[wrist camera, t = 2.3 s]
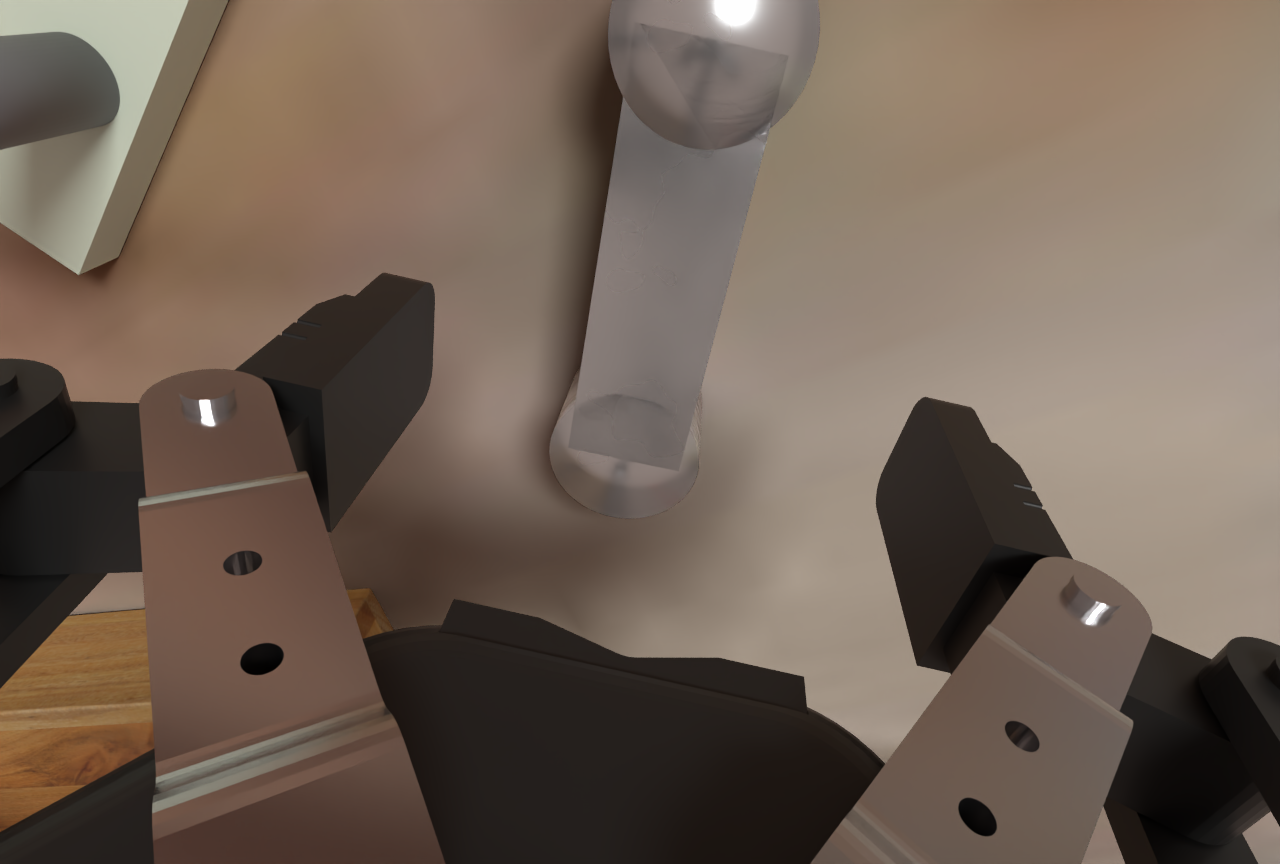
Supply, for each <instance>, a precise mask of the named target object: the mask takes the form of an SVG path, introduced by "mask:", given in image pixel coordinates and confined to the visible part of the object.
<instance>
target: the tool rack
mask: <svg viewBox="0 0 1280 864" xmlns="http://www.w3.org/2000/svg"><path fill="white" fill-rule="evenodd" d="M227 3H228V0H0V223H2V224H3V225H5V226H6V227H8V228H9V229H11V230H12V231H13V232H15V233H16V234H18V235H19V236H21V237H22V238H24V239H25V240H27V241H28V242H30V243H31V244H33V245H34V246H36V247H37V248H39V249H40V250H42V251H43V252H45V253H46V254H48V255H49V256H51V257H52V258H54V259H55V260H57V261H58V262H60V263H61V264H63V265H64V266H66V267H67V268H69V269H70V270H72V271H73V272H75V273H76V274H78V275H80V274H82V273H85V272H87V271H89V270H91V269H93V268H95V267H98V266H100V265H102V264H104V263H106V262H109V261H111V260H113V259H115V258H117V257H119V254H120V252H121V250H122V247H123V245H124V243H125V240H126V238H127V236H128V233H129V231H130V229H131V226H132V224H133V222H134V219H135V217H136V215H137V212H138V210H139V208H140V206H141V203H142V201H143V199H144V196H145V194H146V192H147V189H148V187H149V185H150V182H151V180H152V178H153V175H154V173H155V171H156V168H157V166H158V164H159V161H160V159H161V157H162V154H163V152H164V150H165V147H166V145H167V143H168V140H169V138H170V136H171V133H172V131H173V129H174V126H175V124H176V122H177V119H178V117H179V115H180V112H181V110H182V108H183V105H184V103H185V101H186V98H187V96H188V94H189V91H190V89H191V87H192V84H193V82H194V80H195V77H196V75H197V73H198V70H199V68H200V66H201V63H202V61H203V59H204V56H205V54H206V52H207V49H208V47H209V45H210V42H211V40H212V38H213V35H214V33H215V31H216V28H217V26H218V24H219V21H220V19H221V17H222V14H223V12H224V10H225V7H226V5H227Z"/></svg>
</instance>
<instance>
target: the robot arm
mask: <svg viewBox="0 0 1280 864" xmlns="http://www.w3.org/2000/svg"><path fill="white" fill-rule="evenodd" d="M434 310H435V294H434V289H433V286H432V284H431V283H428V282H423V281H419V280H415V279H410V278H406V277H402V276H397V275H393V274H388V273H382V274H380V275H379V276H378V277H377V278H376V279H375V280H373V281H372V282H371V283H370V284H369V285H368V286H366V287H365V288H364V289H363V290H362V291H361V292H360V293H358V294H357V295H356V296H355V297H354V296H350V295H346V294H345V295H342V296H339V297H336V298H333V299H331V300H328V301H325V302H322V303H319V304H316V305H315V306H314V307H312V308H311V309H310V310H309V311H307V312H306V313H305V314H304V315H303V316H301V317H300V318H299V319H298V321H297V323H295V322H294V323H293V324H291V325H290V326H289V327H288V328H286V329H285V330H284V331H283V332H282V336H281V335H278V336H276V337H275V338H274V339H273V340H272V341H270V342H269V343H268V344H267V345H265V346H264V347H263V348H262V349H260V350H259V351H258V352H257V353H255V354H254V355H253V356H252V357H250V358H249V359H248V360H247V361H245V362H244V363H243V364H242V365H241V366H239V367H238V368H237V369H236V370H226V369H206V370H197V371H190V372H185V373H181V374H178V375H174V376H171V377H169V378H166V379H164V380H161V381H160V382H158V383H156V384H154V385H153V386H152V387H150V388H149V389H148V390H147V391H146V392H145V393H144V394H143V395H142V397H141V399H140V402H139V403H107V402H73V401H70V397H69V394H68V391H67V387H66V384H65V380H64V378H63V376H62V374H61V373H60V372H59V371H58V370H56V369H55V368H53V367H51V366H49V365H46V364H44V363H40V362H36V361H31V360H24V359H0V688H1V687H2V686H3V685H4V684H5V683H6V682H7V681H8V680H9V679H10V678H11V677H12V676H13V675H14V673H15V672H16V671H17V670H18V669H19V668H20V667H21V666H22V665H23V664H24V663H25V662H26V661H27V660H28V658H29V657H30V656H31V655H32V654H33V653H34V652H35V651H36V650H37V649H38V648H39V647H40V646H41V644H42V643H43V642H44V641H45V640H46V639H47V638H48V637H49V636H50V635H51V634H52V633H53V632H54V631H55V629H56V628H57V627H58V626H59V625H60V624H61V623H62V622H63V621H64V620H65V619H66V618H67V617H68V616H69V614H70V613H71V612H72V611H73V610H74V609H75V608H76V607H77V606H78V605H79V604H80V603H81V602H82V600H83V599H84V598H85V597H86V596H87V595H88V594H89V593H90V592H91V591H92V590H93V589H94V588H95V587H96V585H97V584H98V583H99V582H100V581H101V580H102V579H103V578H104V577H105V576H106V575H107V573H121V572H143V585H144V600H145V615H146V630H147V645H148V660H149V675H150V690H151V705H152V720H153V735H154V749H152V750H150V751H148V752H146V753H144V754H143V755H141V756H139V757H137V758H135V759H133V760H132V761H130V762H128V763H126V764H124V765H122V766H120V767H119V768H117V769H115V770H113V771H111V772H109V773H108V774H106V775H104V776H102V777H100V778H98V779H97V780H95V781H93V782H91V783H89V784H87V785H85V786H84V787H82V788H80V789H78V790H76V791H74V792H73V793H71V794H69V795H67V796H65V797H63V798H62V799H60V800H58V801H56V802H54V803H52V804H51V805H49V806H47V807H45V808H43V809H41V810H39V811H38V812H36V813H34V814H32V815H30V816H28V817H27V818H25V819H23V820H21V821H19V822H17V823H16V824H14V825H12V826H10V827H8V828H6V829H5V830H3V831H1V832H0V864H1081V863H1082V860H1083V858H1084V855H1085V852H1086V850H1087V847H1088V844H1089V842H1090V839H1091V837H1092V834H1093V831H1094V829H1095V826H1096V823H1097V821H1098V818H1099V816H1100V813H1101V810H1102V808H1103V806H1104V809H1105V811H1106V814H1107V817H1108V819H1109V822H1110V825H1111V827H1112V830H1113V832H1114V835H1115V838H1116V840H1117V843H1118V846H1119V848H1120V851H1121V853H1122V856H1123V859H1124V861H1125V864H1258V862H1257V861H1256V859H1255V857H1254V855H1253V853H1252V851H1251V849H1250V847H1249V846H1248V844H1247V842H1246V840H1245V838H1244V836H1243V834H1242V833H1243V832H1244V831H1245V830H1247V829H1248V828H1249V827H1251V826H1252V825H1253V824H1255V823H1256V822H1257V821H1258V820H1260V819H1261V818H1262V817H1264V816H1265V815H1266V814H1268V813H1269V812H1270V811H1271V812H1272V814H1273V816H1274V817H1275V819H1276V821H1277V823H1278V824H1279V826H1280V646H1279V645H1277V644H1274V643H1272V642H1268V641H1265V640H1262V639H1258V638H1253V637H1237V638H1234V639H1232V640H1231V641H1230V642H1229V643H1228V644H1227V645H1226V646H1225V647H1224V648H1223V649H1222V650H1221V651H1220V652H1219V653H1218V654H1217V655H1216V656H1215V657H1214V658H1213V659H1209V658H1207V657H1205V656H1202V655H1200V654H1198V653H1196V652H1193V651H1191V650H1189V649H1186V648H1184V647H1182V646H1180V645H1177V644H1175V643H1173V642H1170V641H1168V640H1166V639H1164V638H1161V637H1159V636H1157V635H1155V634H1152V622H1151V619H1150V617H1149V615H1148V613H1147V611H1146V610H1145V608H1144V607H1143V605H1142V604H1141V603H1140V601H1139V600H1138V599H1137V598H1136V597H1135V596H1134V595H1133V594H1132V593H1131V592H1130V591H1129V590H1127V589H1126V588H1125V587H1124V586H1123V585H1121V584H1120V583H1119V582H1117V581H1116V580H1115V579H1113V578H1112V577H1110V576H1108V575H1107V574H1105V573H1104V572H1102V571H1100V570H1098V569H1096V568H1094V567H1092V566H1090V565H1087V564H1085V563H1082V562H1079V561H1076V560H1073V558H1072V556H1071V555H1070V553H1069V551H1068V549H1067V548H1066V546H1065V544H1064V542H1063V541H1062V539H1061V537H1060V535H1059V533H1058V532H1057V530H1056V528H1055V526H1054V525H1053V523H1052V521H1051V519H1050V518H1049V516H1048V514H1047V512H1046V511H1045V510H1043V509H1042V506H1043V505H1042V503H1041V502H1040V500H1039V498H1038V496H1037V495H1036V493H1035V492H1034V491H1031V490H1032V486H1031V484H1030V482H1029V481H1028V479H1027V477H1026V475H1025V473H1024V472H1023V470H1022V468H1021V466H1020V465H1019V464H1018V463H1017V462H1016V461H1015V460H1014V459H1012V458H1011V457H1010V456H1009V455H1008V454H1007V453H1006V452H1005V451H1004V450H1003V449H1002V448H1001V447H1000V446H999V445H997V444H996V443H991V441H990V439H989V437H988V435H987V433H986V431H985V430H984V428H983V426H982V424H981V422H980V420H979V418H978V416H977V415H976V413H975V411H974V410H973V409H972V408H971V407H967V406H963V405H958V404H954V403H950V402H945V401H941V400H937V399H932V398H928V397H923V398H922V399H920V400H919V401H918V402H917V403H916V405H915V406H914V408H913V410H912V412H911V414H910V416H909V418H908V420H907V422H906V424H905V426H904V428H903V430H902V432H901V434H900V436H899V438H898V441H897V443H896V445H895V447H894V449H893V451H892V453H891V455H890V457H889V459H888V461H887V463H886V465H885V467H884V469H883V472H882V474H881V477H880V480H879V483H878V488H877V494H876V508H877V513H878V516H879V520H880V524H881V528H882V532H883V536H884V540H885V544H886V548H887V551H888V555H889V559H890V563H891V567H892V571H893V575H894V579H895V582H896V586H897V590H898V594H899V598H900V602H901V606H902V610H903V614H904V617H905V621H906V625H907V629H908V633H909V637H910V641H911V645H912V648H913V652H914V656H915V660H916V664H917V666H922V667H926V668H931V669H935V670H940V671H944V672H949V673H951V676H950V677H949V679H948V680H947V681H946V683H945V684H944V686H943V687H942V688H941V690H940V691H939V692H938V694H937V695H936V696H935V698H934V699H933V700H932V702H931V703H930V704H929V706H928V707H927V708H926V710H925V711H924V713H923V714H922V715H921V717H920V718H919V719H918V721H917V722H916V723H915V725H914V726H913V727H912V729H911V730H910V731H909V733H908V734H907V736H906V737H905V738H904V740H903V741H902V742H901V744H900V745H899V746H898V748H897V749H896V750H895V752H894V753H893V754H892V756H891V757H890V758H889V760H888V761H887V763H886V764H885V763H884V762H883V761H882V760H881V759H880V758H879V757H878V756H877V755H876V754H875V753H874V752H873V751H872V750H871V749H869V748H868V747H867V746H866V745H865V744H864V743H862V742H861V741H860V740H859V739H858V738H856V737H855V736H854V735H853V734H851V733H850V732H848V731H847V730H846V729H844V728H843V727H841V726H840V725H838V724H837V723H835V722H834V721H832V720H830V719H829V718H827V717H825V716H823V715H822V714H820V713H818V712H816V711H814V710H812V709H810V708H808V707H807V704H806V693H805V683H804V677H802V676H798V675H793V674H789V673H784V672H780V671H775V670H771V669H766V668H762V667H757V666H753V665H748V664H744V663H739V662H735V661H730V660H726V659H722V658H634V657H627V656H623V655H620V654H617V653H615V652H613V651H611V650H609V649H606V648H604V647H602V646H600V645H598V644H595V643H593V642H591V641H589V640H587V639H585V638H582V637H580V636H578V635H576V634H574V633H572V632H569V631H567V630H565V629H563V628H561V627H558V626H556V625H554V624H552V623H550V622H548V621H545V620H543V619H541V618H537V617H533V616H528V615H524V614H519V613H515V612H510V611H506V610H501V609H497V608H492V607H488V606H483V605H479V604H474V603H470V602H465V601H461V600H456V599H454V600H453V602H452V605H451V607H450V609H449V611H448V614H447V616H446V618H445V620H444V623H443V625H438V626H420V627H410V628H403V629H398V630H393V631H388V632H383V633H380V634H377V635H373V636H370V637H367V638H363V639H362V636H361V633H360V630H359V627H358V624H357V621H356V618H355V615H354V612H353V609H352V606H351V603H350V600H349V597H348V594H347V590H346V587H345V584H344V581H343V578H342V575H341V572H340V569H339V566H338V563H337V560H336V557H335V554H334V551H333V548H332V545H331V542H330V539H329V536H328V532H332V530H333V529H334V527H335V526H336V525H337V523H338V522H339V520H340V519H341V518H342V516H343V515H344V513H345V512H346V511H347V509H348V508H349V507H350V505H351V504H352V502H353V501H354V500H355V498H356V497H357V495H358V494H359V493H360V491H361V490H362V488H363V487H364V486H365V484H366V483H367V481H368V480H369V479H370V477H371V476H372V474H373V473H374V472H375V470H376V469H377V467H378V466H379V465H380V463H381V462H382V460H383V459H384V458H385V456H386V455H387V453H388V452H389V451H390V449H391V448H392V446H393V445H394V444H395V442H396V441H397V439H398V438H399V437H400V435H401V434H402V432H403V431H404V430H405V428H406V427H407V425H408V424H409V423H410V421H411V420H412V418H413V417H414V416H415V414H416V413H417V411H418V410H419V409H420V407H421V406H422V404H423V402H424V400H425V398H426V396H427V393H428V390H429V386H430V382H431V377H432V366H433V338H434Z"/></svg>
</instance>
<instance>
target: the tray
mask: <svg viewBox="0 0 1280 864" xmlns="http://www.w3.org/2000/svg"><path fill="white" fill-rule="evenodd" d="M347 594H348V597H349V600H350V603H351V606H352V609H353V612H354V615H355V618H356V621H357V624H358V627H359V630H360V633H361V636H362V639H363V638H367V637H370V636H373V635H377V634H380V633H383V632H388V631H393V628H392V626H391V624H390V622H389V621H388V619H387V617H386V615H385V613H384V611H383V609H382V608H381V606H380V604H379V602H378V601H377V599H376V597H375V595H374V594H373V592H372V590H371V589H369V588H366V589H353V590H347ZM152 749H154V735H153V720H152V705H151V690H150V675H149V660H148V645H147V630H146V615H145V609H141V610H130V611H118V612H107V613H96V614H86V615H75V616H68V617H67V618H66V619H65V620H64V621H63V622H62V623H61V624H60V625H59V626H58V627H57V628H56V629H55V631H54V632H53V633H52V634H51V635H50V636H49V637H48V638H47V639H46V640H45V641H44V642H43V643H42V644H41V646H40V647H39V648H38V649H37V650H36V651H35V652H34V653H33V654H32V655H31V656H30V657H29V658H28V660H27V661H26V662H25V663H24V664H23V665H22V666H21V667H20V668H19V669H18V670H17V671H16V672H15V673H14V675H13V676H12V677H11V678H10V679H9V680H8V681H7V682H6V683H5V684H4V685H3V686H2V687H1V688H0V832H1V831H3V830H5V829H6V828H8V827H10V826H12V825H14V824H16V823H17V822H19V821H21V820H23V819H25V818H27V817H28V816H30V815H32V814H34V813H36V812H38V811H39V810H41V809H43V808H45V807H47V806H49V805H51V804H52V803H54V802H56V801H58V800H60V799H62V798H63V797H65V796H67V795H69V794H71V793H73V792H74V791H76V790H78V789H80V788H82V787H84V786H85V785H87V784H89V783H91V782H93V781H95V780H97V779H98V778H100V777H102V776H104V775H106V774H108V773H109V772H111V771H113V770H115V769H117V768H119V767H120V766H122V765H124V764H126V763H128V762H130V761H132V760H133V759H135V758H137V757H139V756H141V755H143V754H144V753H146V752H148V751H150V750H152Z"/></svg>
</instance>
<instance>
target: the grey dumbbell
mask: <svg viewBox="0 0 1280 864" xmlns="http://www.w3.org/2000/svg"><path fill="white" fill-rule="evenodd" d="M819 33H820V13H819V6H818V0H612V5H611V10H610V15H609V25H608V48H609V55H610V61H611V66H612V69H613V73H614V77H615V79H616V82H617V84H618V87H619V89H620V91H621V93H622V95H623V102H622V108H621V114H620V121H619V127H618V133H617V140H616V146H615V153H614V159H613V165H612V172H611V178H610V184H609V191H608V197H607V204H606V210H605V216H604V223H603V229H602V235H601V242H600V248H599V255H598V261H597V267H596V274H595V280H594V286H593V293H592V299H591V306H590V312H589V318H588V325H587V331H586V337H585V344H584V350H583V357H582V363H581V367H580V368H579V370H578V371H577V373H576V375H575V377H574V379H573V382H572V384H571V387H570V389H569V392H568V395H567V397H566V400H565V402H564V405H563V408H562V410H561V413H560V415H559V418H558V421H557V423H556V426H555V428H554V431H553V433H552V436H551V441H550V448H549V455H550V462H551V466H552V469H553V472H554V474H555V476H556V478H557V480H558V482H559V483H560V485H561V486H562V487H563V488H564V490H565V491H566V492H567V493H568V494H569V495H570V496H571V497H572V498H574V499H575V500H576V501H577V502H579V503H580V504H582V505H583V506H585V507H587V508H589V509H591V510H593V511H595V512H598V513H600V514H603V515H607V516H611V517H616V518H626V519H634V518H644V517H649V516H653V515H657V514H659V513H662V512H664V511H666V510H668V509H670V508H672V507H673V506H675V505H676V504H677V503H679V502H680V501H681V500H682V499H683V498H684V497H685V496H686V495H687V493H688V492H689V491H690V489H691V488H692V486H693V484H694V482H695V479H696V477H697V473H698V468H699V453H700V436H701V419H702V396H701V392H700V389H701V385H702V382H703V378H704V374H705V370H706V367H707V363H708V359H709V355H710V352H711V348H712V344H713V340H714V337H715V333H716V329H717V325H718V321H719V318H720V314H721V310H722V306H723V303H724V299H725V295H726V291H727V288H728V284H729V280H730V276H731V273H732V269H733V265H734V261H735V257H736V254H737V250H738V246H739V242H740V239H741V235H742V231H743V227H744V224H745V220H746V216H747V212H748V209H749V205H750V201H751V197H752V194H753V190H754V186H755V182H756V178H757V175H758V171H759V167H760V163H761V160H762V156H763V152H764V148H765V145H766V141H767V137H768V133H769V130H770V128H771V127H772V126H774V125H775V124H776V123H777V122H778V121H779V120H780V119H781V118H782V117H783V116H784V115H785V114H786V113H787V112H788V111H789V109H790V108H791V107H792V106H793V104H794V103H795V102H796V100H797V99H798V97H799V95H800V94H801V92H802V91H803V89H804V87H805V85H806V83H807V81H808V78H809V76H810V74H811V71H812V68H813V65H814V62H815V58H816V53H817V49H818V43H819Z"/></svg>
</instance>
